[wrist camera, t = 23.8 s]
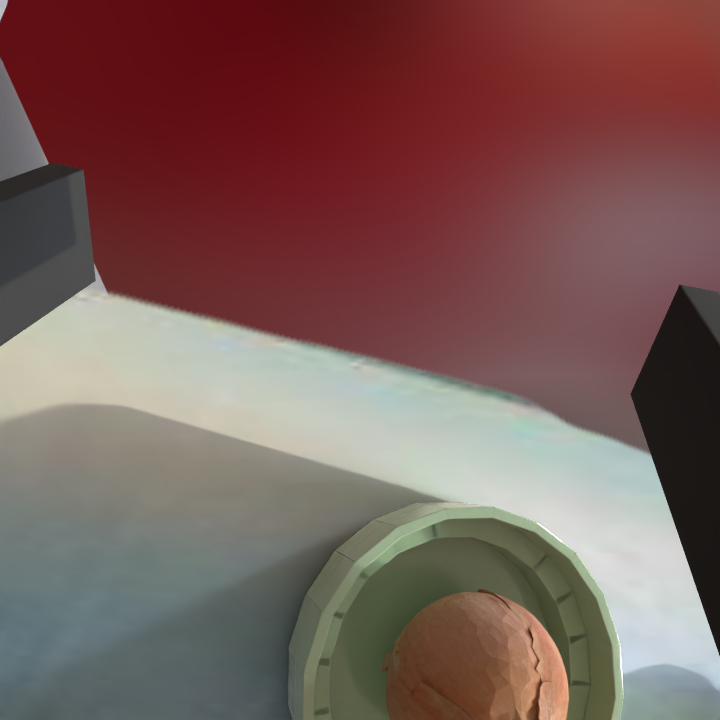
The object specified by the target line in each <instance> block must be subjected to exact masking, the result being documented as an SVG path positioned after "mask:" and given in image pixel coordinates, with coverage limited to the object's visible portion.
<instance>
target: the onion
mask: <svg viewBox="0 0 720 720" xmlns="http://www.w3.org/2000/svg"><path fill="white" fill-rule="evenodd" d="M394 644H395V647H394V650H393V651H391V652H387V653H386V654H385V656H384V659H383V663H382V671H387V673H386V685H385V695H386V706H387V711H388V714H389V717H390V720H566V717H567V710H568V702H569V692H568V681H567V675H566V671H565V667H564V664H563V661H562V658H561V656H560V653H559V650H558V648H557V647H556V645H555V643H554V641H553V640H552V638H551V637H550V635H549V634H548V632H547V631H546V630H545V628H544V627H543V626H542V624H541V623H540V622H539V621H538V620H537V619H536V617H535V616H534V615H532V614H531V613H530V612H529V611H527V610H526V609H525V608H523V607H522V606H520V605H518V604H516V603H515V602H513V601H511V600H509V599H507V598H505V597H503V596H501V595H498V594H496V593H494V592H490V591H487V590H484V589H480V590H478V592H460V593H455V594H451V595H448V596H445V597H443V598H440V599H438V600H436V601H434V602H433V603H431V604H429V605H428V606H426V607H425V608H423V609H422V610H421V611H419V612H418V613H417V614H416V615H415V616H414V617H413V618H412V619H411V620H410V621H409V622H408V624H407V626H406V627H404V629H403V630H402V632H401V634H400V635H399V637H398V638H397V639H396V641H395V642H394Z"/></svg>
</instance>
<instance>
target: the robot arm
mask: <svg viewBox="0 0 720 720" xmlns="http://www.w3.org/2000/svg"><path fill="white" fill-rule="evenodd" d="M94 281H96V280H95V271H94V262H93V253H92V244H91V235H90V226H89V217H88V208H87V199H86V190H85V180H84V171H83V169H79V168H74V167H69V166H64V165H58V164H53V163H51V164H48V165H46V166H43V167H40V168H37V169H34V170H32V171H29V172H26V173H23V174H20V175H18V176H15V177H12V178H9V179H6V180H4V181H1V182H0V346H1V345H3V344H4V343H6V342H7V341H9V340H10V339H11V338H13V337H14V336H16V335H17V334H19V333H20V332H22V331H23V330H25V329H26V328H27V327H29V326H30V325H32V324H33V323H35V322H36V321H38V320H39V319H41V318H42V317H43V316H45V315H46V314H48V313H49V312H51V311H52V310H54V309H55V308H56V307H58V306H59V305H61V304H62V303H64V302H65V301H67V300H68V299H70V298H71V297H72V296H74V295H75V294H77V293H78V292H80V291H81V290H83V289H84V288H86V287H87V286H88V285H90V284H91V283H93V282H94ZM631 397H632V400H633V403H634V405H635V409H636V412H637V414H638V417H639V420H640V423H641V426H642V429H643V432H644V435H645V438H646V441H647V444H648V447H649V450H650V453H651V456H652V459H653V462H654V464H655V467H656V470H657V473H658V476H659V479H660V482H661V485H662V488H663V491H664V494H665V497H666V500H667V503H668V506H669V508H670V511H671V514H672V517H673V520H674V523H675V526H676V529H677V532H678V535H679V538H680V541H681V544H682V547H683V550H684V552H685V555H686V558H687V561H688V564H689V567H690V570H691V573H692V576H693V579H694V582H695V585H696V588H697V591H698V594H699V597H700V599H701V602H702V605H703V608H704V611H705V614H706V617H707V620H708V623H709V626H710V629H711V632H712V635H713V638H714V641H715V643H716V646H717V649H718V652H719V655H720V294H719V292H715V291H710V290H705V289H700V288H695V287H689V286H684V285H679V287H678V290H677V292H676V294H675V296H674V298H673V301H672V303H671V305H670V307H669V309H668V312H667V314H666V316H665V318H664V320H663V323H662V325H661V327H660V329H659V332H658V334H657V336H656V339H655V341H654V343H653V345H652V347H651V350H650V352H649V354H648V357H647V359H646V361H645V363H644V365H643V368H642V370H641V372H640V374H639V377H638V379H637V381H636V383H635V385H634V388H633V390H632V392H631Z"/></svg>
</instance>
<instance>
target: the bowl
mask: <svg viewBox="0 0 720 720" xmlns="http://www.w3.org/2000/svg"><path fill="white" fill-rule="evenodd" d="M480 589H484V590H487V591H490V592H494V593H496V594H498V595H501V596H503V597H505V598H507V599H509V600H511V601H513V602H515V603H516V604H518V605H520V606H522V607H523V608H525V609H526V610H527V611H529V612H530V613H531V614H532V615H534V616H535V617H536V619H537V620H538V621H539V622H540V623H541V624H542V626H543V627H544V628H545V630H546V631H547V632H548V634H549V635H550V637H551V638H552V640H553V641H554V643H555V645H556V647H557V648H558V650H559V653H560V656H561V658H562V661H563V664H564V667H565V671H566V675H567V681H568V692H569V702H568V710H567V717H566V720H620V716H621V711H622V705H623V697H624V694H623V679H622V665H621V650H620V642H619V639H618V636H617V633H616V630H615V627H614V624H613V621H612V618H611V615H610V612H609V609H608V606H607V603H606V600H605V597H604V594H603V592H602V590H601V589H600V588H599V586H598V585H597V583H596V582H595V580H594V579H593V577H592V576H591V574H590V573H589V571H588V570H587V568H586V567H585V566H584V564H583V563H582V561H581V560H580V558H579V557H578V555H577V554H576V552H574V551H573V550H572V549H571V548H570V547H568V546H567V545H566V544H565V543H563V542H562V541H561V540H559V539H558V538H557V537H556V536H554V535H553V534H552V533H551V532H549V531H548V530H547V529H545V528H544V527H543V526H542V525H540V524H539V523H537V522H536V521H533V520H530V519H527V518H524V517H521V516H518V515H515V514H513V513H510V512H507V511H504V510H501V509H498V508H495V507H490V506H483V505H476V504H468V503H461V502H441V503H417V504H416V503H415V504H412V505H410V506H407V507H404V508H402V509H399V510H396V511H394V512H391V513H388V514H386V515H383V516H380V517H378V518H375V519H374V520H372V521H371V522H369V523H368V524H367V525H366V526H364V527H363V528H362V529H361V530H359V531H358V532H357V533H356V534H355V535H353V536H352V537H351V538H350V539H348V540H347V541H346V542H345V543H343V544H342V545H341V546H340V547H339V548H337V549H336V551H334V552H333V554H332V555H331V557H330V558H329V560H328V561H327V563H326V564H325V566H324V567H323V569H322V570H321V572H320V573H319V575H318V576H317V578H316V579H315V581H314V582H313V584H312V585H311V587H310V588H309V590H308V591H307V593H306V595H305V597H304V600H303V603H302V607H301V610H300V613H299V616H298V619H297V623H296V626H295V629H294V632H293V635H292V638H291V642H290V645H289V660H288V707H289V710H290V714H291V717H292V720H390V717H389V714H388V711H387V706H386V695H385V685H386V673H387V671H382V663H383V659H384V656H385V654H386V653H387V652H391V651H393V650H394V647H395V644H394V642H395V641H396V639H397V638H398V637H399V635H400V634H401V632H402V630H403V629H404V627H406V626H407V624H408V622H409V621H410V620H411V619H412V618H413V617H414V616H415V615H416V614H417V613H418V612H419V611H421V610H422V609H423V608H425V607H426V606H428V605H429V604H431V603H433V602H434V601H436V600H438V599H440V598H443V597H445V596H448V595H451V594H455V593H460V592H478V590H480Z"/></svg>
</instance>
